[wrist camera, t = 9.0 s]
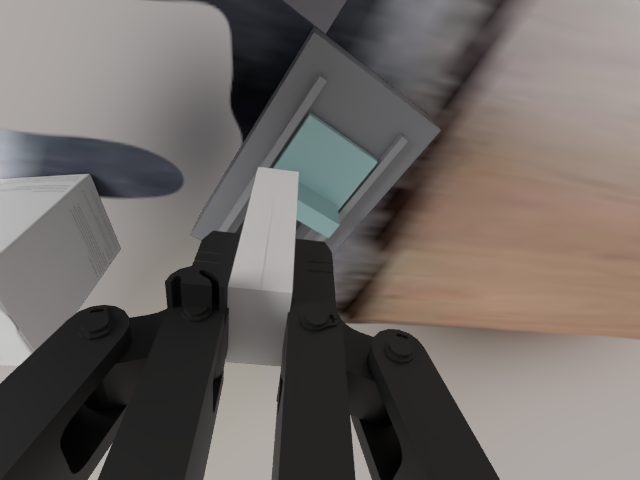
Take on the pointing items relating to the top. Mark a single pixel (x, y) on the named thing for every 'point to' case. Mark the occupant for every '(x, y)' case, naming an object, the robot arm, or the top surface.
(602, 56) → the top surface
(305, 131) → the shutter
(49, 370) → the robot arm
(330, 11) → the grey rectangular block
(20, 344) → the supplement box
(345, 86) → the socket housing
